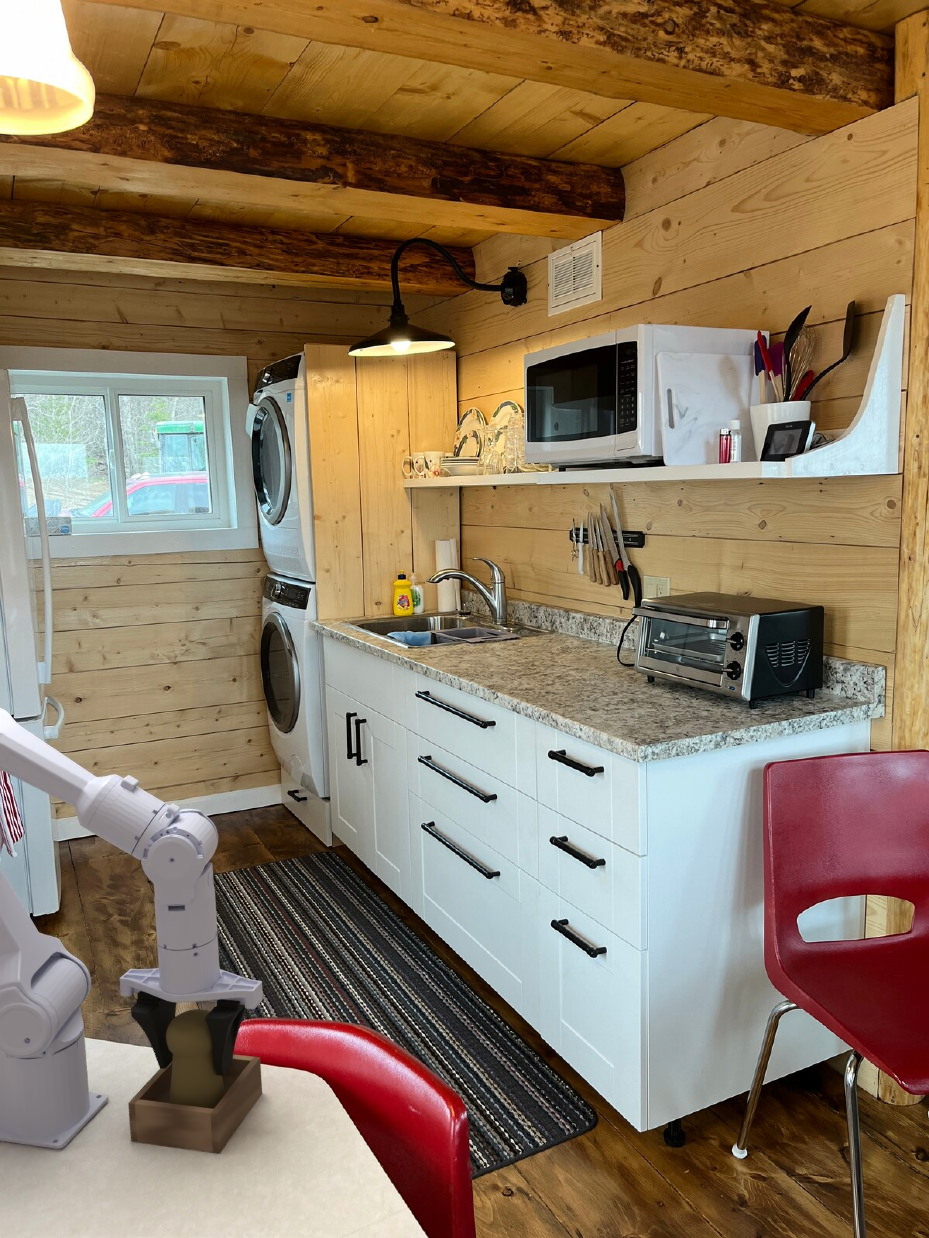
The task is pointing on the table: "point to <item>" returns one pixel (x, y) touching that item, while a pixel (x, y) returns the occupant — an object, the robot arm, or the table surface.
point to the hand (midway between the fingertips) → (195, 1066)
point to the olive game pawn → (193, 1062)
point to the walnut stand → (195, 1110)
